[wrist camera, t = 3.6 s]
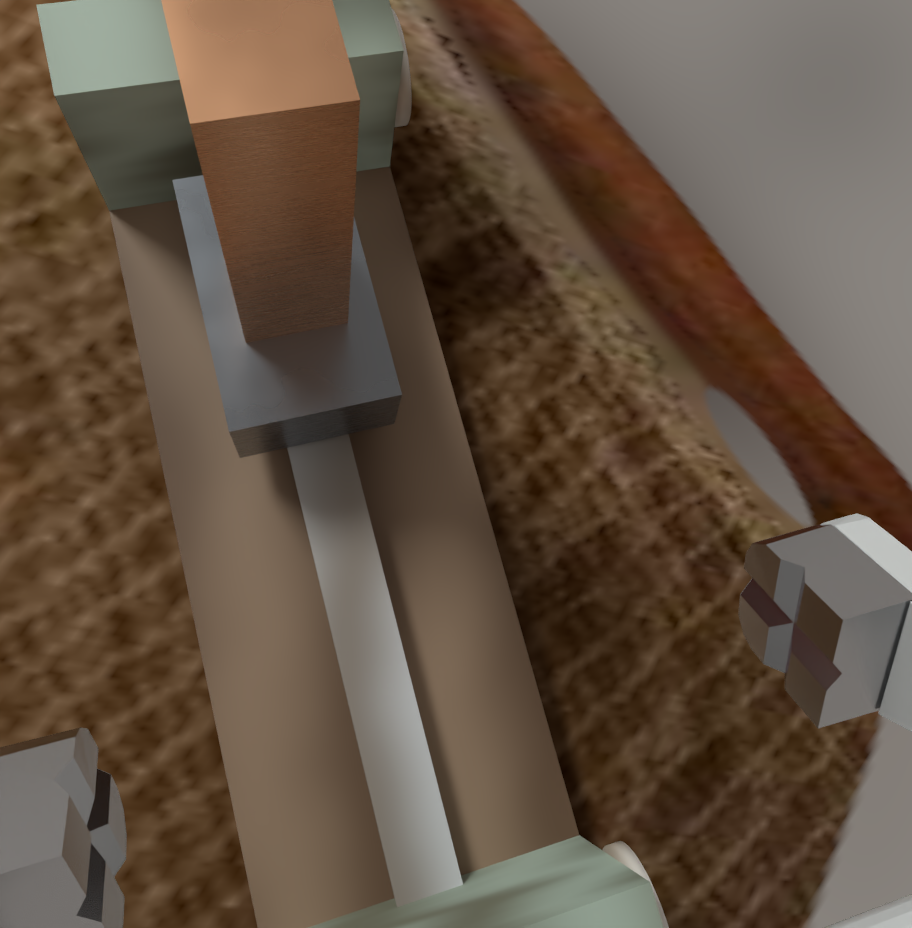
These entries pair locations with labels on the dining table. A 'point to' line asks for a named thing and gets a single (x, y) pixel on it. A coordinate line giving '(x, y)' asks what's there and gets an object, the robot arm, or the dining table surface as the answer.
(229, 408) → the carriage
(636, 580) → the dining table surface
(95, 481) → the dining table surface
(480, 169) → the dining table surface
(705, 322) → the dining table surface
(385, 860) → the rail track
